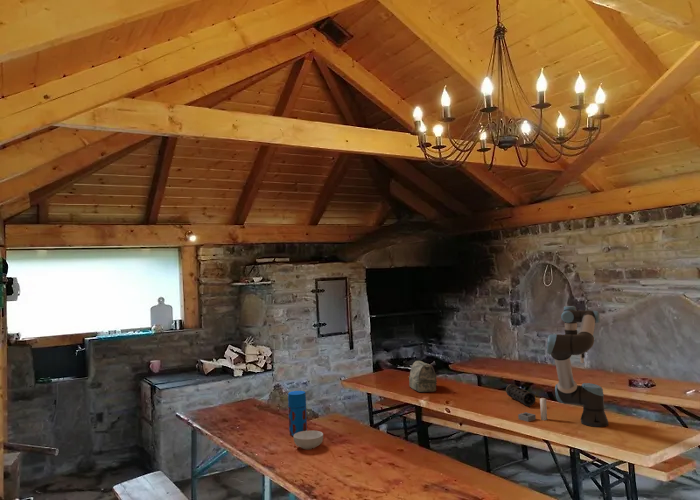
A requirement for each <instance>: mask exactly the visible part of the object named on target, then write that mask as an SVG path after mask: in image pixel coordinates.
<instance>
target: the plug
mask: <svg viewBox="0 0 700 500" xmlns="http://www.w3.org/2000/svg"><path fill="white" fill-rule="evenodd" d="M539 405H540V407H539V408H540V420H542V421H547V420H548V409H547V398H544V397H541V398H539Z"/></svg>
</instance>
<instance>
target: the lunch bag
mask: <svg viewBox="0 0 700 500" xmlns="http://www.w3.org/2000/svg"><path fill="white" fill-rule="evenodd" d="M436 374H437V373H436V372H435V368H434V367H433V365H432V364H429V363H426V362H424V361H422V360H415V361H414V362H413V363H412V365H411V368H410V371H409V376H408V381H409V385H408V386H409V387H410V388H411V389H412V390H413V391H414V390H415V391H417V393H431V392H433V393H434V392H437V384H438V383H437V382H438V381H437V375H436Z"/></svg>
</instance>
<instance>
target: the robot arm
mask: <svg viewBox="0 0 700 500" xmlns="http://www.w3.org/2000/svg"><path fill="white" fill-rule="evenodd" d="M560 317H561V320H562V321H563V322H564V329H565V330H564V334H560V333H559V334H558V333H552V334H548V336H547V343H546V353H547V355H550V356H551V358H552V359H554V364H555V368H556V374H557V379H558V382H557V383H556V384H555V387H554V390H555V391H554V393H555V397H556V401H557V402H558V403H560V404H565V405H566V404H567V405H577V406H578V405H579V406H582V407H583V410H582V413H581V416H580V424H582V425H584V426H587V427H594V428H595V427H596V428H602V427H603V428H604V427H607V426H609V419H608V417H607V414H606V412H605V402H604V396H605V394H604V389H603V387H602V386H601V385H598V384H594V383H590V382H583V383H581V385H579V384H578V383H577V381H575V379H574V376H573V375H574V374H573V368H572V362H571V357H572V356H579V362H580V363H579V364H583V363H585V355H586V354H585V353H588V351H589V350H591V348H593V346H594V343H595V337H594V332H595V326H596V325H595V324H597V323H600V319H601V318H600V311H598V310H577V307H576V306H575V305H564V306H563V312H562V313H561V315H560ZM577 323H581V324H580V326H579V327H580V328H579V332H578V330H577V329H578V324H577Z"/></svg>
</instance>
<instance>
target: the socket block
mask: <svg viewBox="0 0 700 500" xmlns="http://www.w3.org/2000/svg"><path fill="white" fill-rule="evenodd" d="M517 417H518V420H521V421H525V422H527V423H528V422H532V421H535V420H536V419H537V416H536V414H533V413H529V412H526V411H525V412H521V413H518V416H517Z"/></svg>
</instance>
